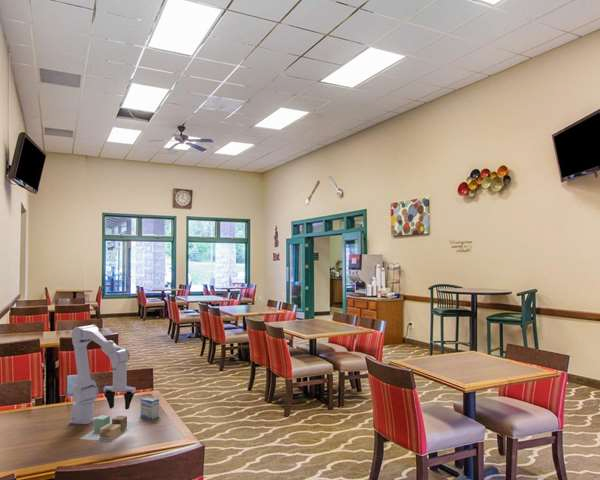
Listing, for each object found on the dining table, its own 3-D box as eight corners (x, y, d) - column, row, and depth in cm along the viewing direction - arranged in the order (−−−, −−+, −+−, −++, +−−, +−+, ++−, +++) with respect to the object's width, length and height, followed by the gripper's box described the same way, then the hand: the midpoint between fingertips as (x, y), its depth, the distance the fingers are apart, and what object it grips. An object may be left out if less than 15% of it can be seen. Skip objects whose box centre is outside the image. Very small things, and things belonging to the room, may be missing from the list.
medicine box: (140, 417, 220) (140, 399, 220) (147, 414, 223) (147, 396, 224) (152, 420, 216) (152, 401, 216) (159, 417, 220) (159, 398, 220)
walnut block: (111, 430, 202) (111, 419, 202) (117, 426, 206) (117, 415, 206) (121, 431, 201) (121, 419, 201) (126, 427, 206) (126, 416, 206)
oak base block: (99, 437, 195) (99, 428, 195) (108, 431, 201) (108, 423, 201) (112, 438, 194) (112, 429, 194) (120, 432, 199) (120, 424, 200)
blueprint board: (79, 439, 193) (79, 438, 193) (110, 421, 215) (110, 420, 215) (111, 442, 190) (111, 441, 190) (139, 423, 212) (139, 422, 212)
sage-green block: (94, 430, 203) (94, 418, 203) (100, 426, 207) (100, 415, 207) (103, 430, 202) (103, 419, 202) (109, 427, 206) (109, 415, 206)
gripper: (99, 379, 202) (99, 410, 202) (129, 380, 199) (129, 412, 199) (108, 374, 209) (108, 405, 209) (138, 376, 206) (138, 407, 206)
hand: (119, 408), depth 204 cm, fingers open, 7 cm apart
